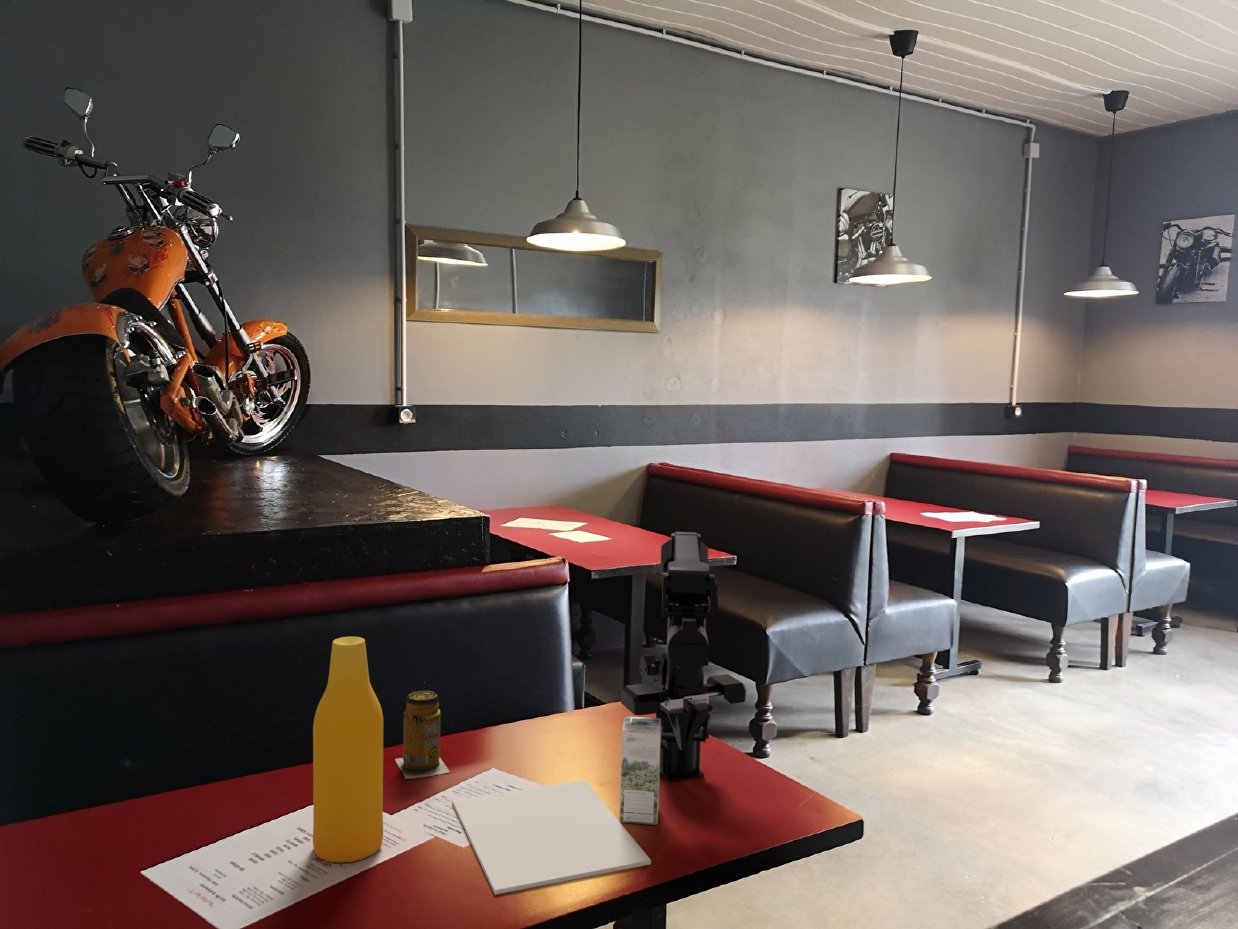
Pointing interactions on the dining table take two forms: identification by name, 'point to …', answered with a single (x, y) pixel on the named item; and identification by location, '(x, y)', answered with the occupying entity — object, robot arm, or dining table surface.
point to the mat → (546, 836)
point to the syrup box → (640, 770)
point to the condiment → (421, 737)
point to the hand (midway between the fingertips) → (682, 748)
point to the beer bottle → (348, 759)
